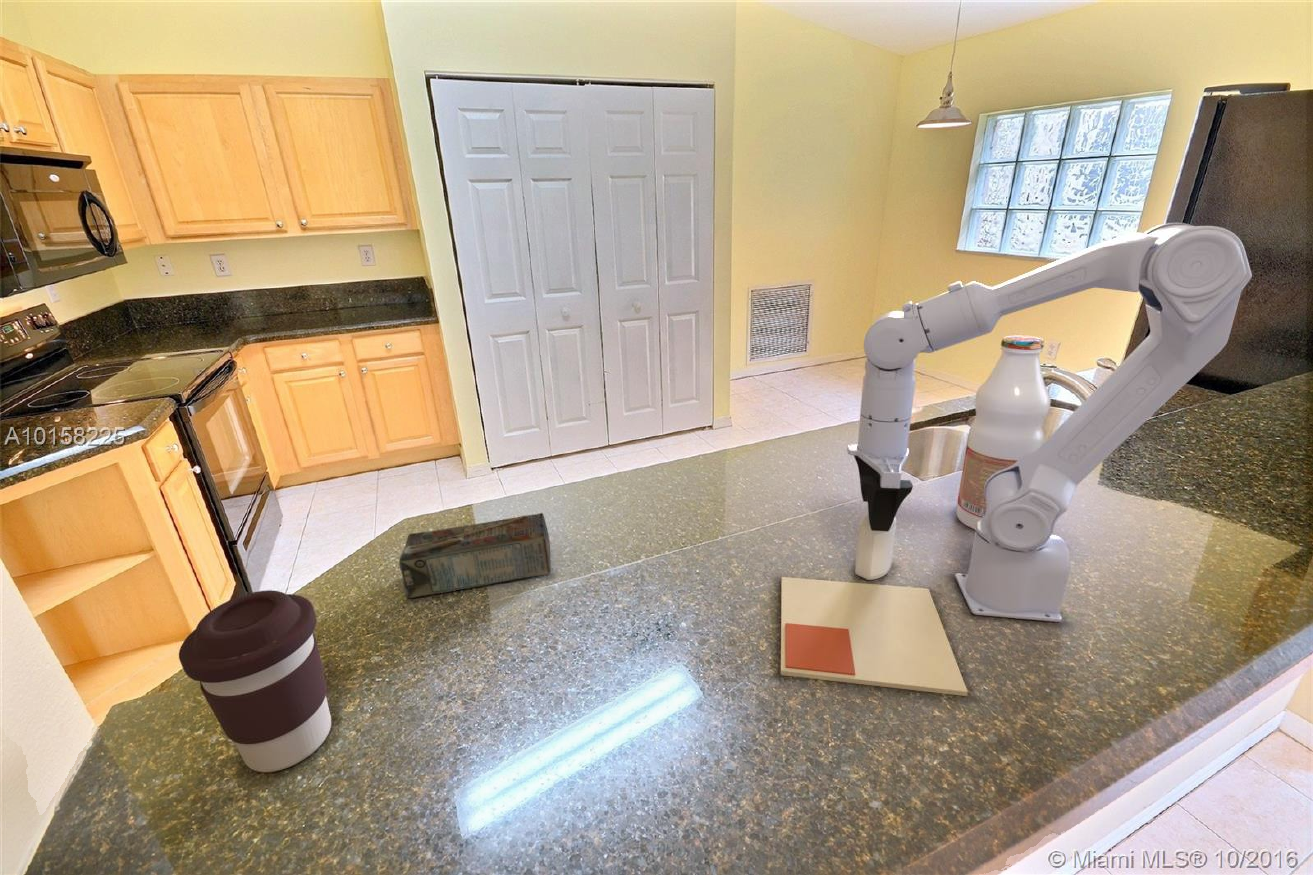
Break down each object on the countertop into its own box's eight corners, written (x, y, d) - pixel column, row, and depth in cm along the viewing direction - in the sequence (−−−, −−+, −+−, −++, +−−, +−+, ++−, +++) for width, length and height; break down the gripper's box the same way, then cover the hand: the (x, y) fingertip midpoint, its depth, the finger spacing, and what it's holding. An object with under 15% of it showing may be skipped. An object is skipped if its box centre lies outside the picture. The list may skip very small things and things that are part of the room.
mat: (927, 592, 72) (928, 587, 72) (967, 696, 57) (968, 690, 57) (781, 580, 76) (781, 575, 76) (780, 675, 60) (780, 669, 60)
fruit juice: (965, 534, 84) (997, 345, 74) (947, 504, 93) (974, 332, 83) (1036, 538, 83) (1079, 345, 73) (1011, 507, 91) (1046, 331, 81)
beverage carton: (415, 568, 83) (406, 527, 80) (550, 547, 86) (545, 507, 84) (405, 601, 75) (395, 557, 73) (553, 576, 79) (548, 534, 77)
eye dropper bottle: (901, 577, 76) (912, 495, 71) (861, 582, 75) (869, 500, 70) (884, 559, 80) (893, 480, 75) (845, 564, 79) (852, 484, 75)
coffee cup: (265, 705, 60) (219, 583, 54) (363, 696, 60) (327, 574, 55) (202, 794, 50) (140, 658, 45) (319, 782, 51) (271, 646, 46)
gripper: (844, 396, 77) (837, 488, 81) (857, 434, 63) (848, 541, 68) (901, 397, 75) (890, 490, 80) (926, 436, 62) (911, 546, 67)
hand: (875, 514), depth 74 cm, fingers open, 7 cm apart
